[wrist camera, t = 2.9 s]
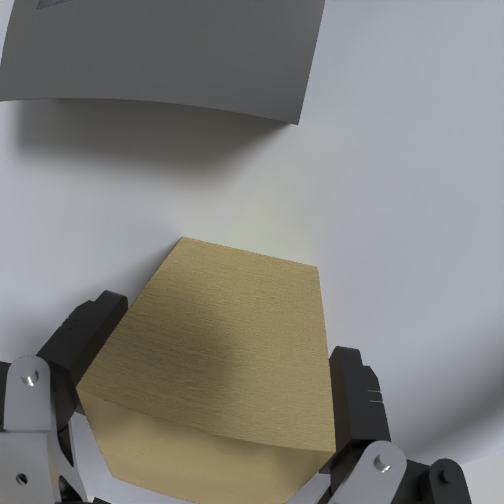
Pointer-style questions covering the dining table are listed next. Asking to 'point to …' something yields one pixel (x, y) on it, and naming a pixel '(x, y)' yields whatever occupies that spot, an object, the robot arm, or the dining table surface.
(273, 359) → the brass block
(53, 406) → the robot arm
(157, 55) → the steel rectangular frame
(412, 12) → the dining table surface
